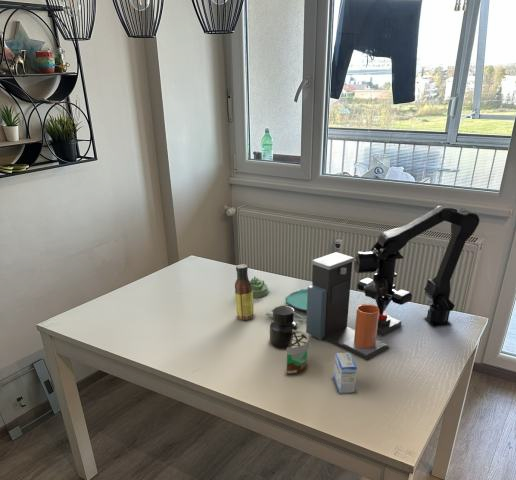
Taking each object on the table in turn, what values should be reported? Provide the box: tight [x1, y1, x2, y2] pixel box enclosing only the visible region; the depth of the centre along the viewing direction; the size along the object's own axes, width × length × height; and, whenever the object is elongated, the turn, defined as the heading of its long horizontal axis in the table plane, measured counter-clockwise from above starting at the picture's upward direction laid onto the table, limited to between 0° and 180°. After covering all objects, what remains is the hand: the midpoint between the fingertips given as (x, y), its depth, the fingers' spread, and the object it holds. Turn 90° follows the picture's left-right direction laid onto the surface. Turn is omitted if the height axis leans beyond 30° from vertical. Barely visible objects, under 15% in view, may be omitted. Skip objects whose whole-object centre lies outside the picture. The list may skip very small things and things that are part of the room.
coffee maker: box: [305, 251, 390, 361], centre depth 156 cm, size 14×25×26 cm, turn 41°
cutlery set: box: [264, 288, 308, 326], centre depth 184 cm, size 20×30×2 cm, turn 136°
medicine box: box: [333, 352, 358, 394], centre depth 138 cm, size 8×4×9 cm, turn 5°
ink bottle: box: [269, 305, 298, 350], centre depth 159 cm, size 10×9×12 cm
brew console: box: [377, 314, 402, 337], centre depth 170 cm, size 11×10×4 cm
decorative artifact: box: [249, 275, 269, 299], centre depth 197 cm, size 10×7×10 cm
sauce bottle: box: [234, 263, 255, 321], centre depth 174 cm, size 7×6×20 cm
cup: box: [354, 303, 379, 349], centre depth 155 cm, size 7×7×12 cm
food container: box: [285, 329, 311, 376], centre depth 146 cm, size 12×6×10 cm, turn 168°
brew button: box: [378, 311, 388, 320], centre depth 169 cm, size 4×4×2 cm
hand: (381, 313), depth 169 cm, fingers closed
